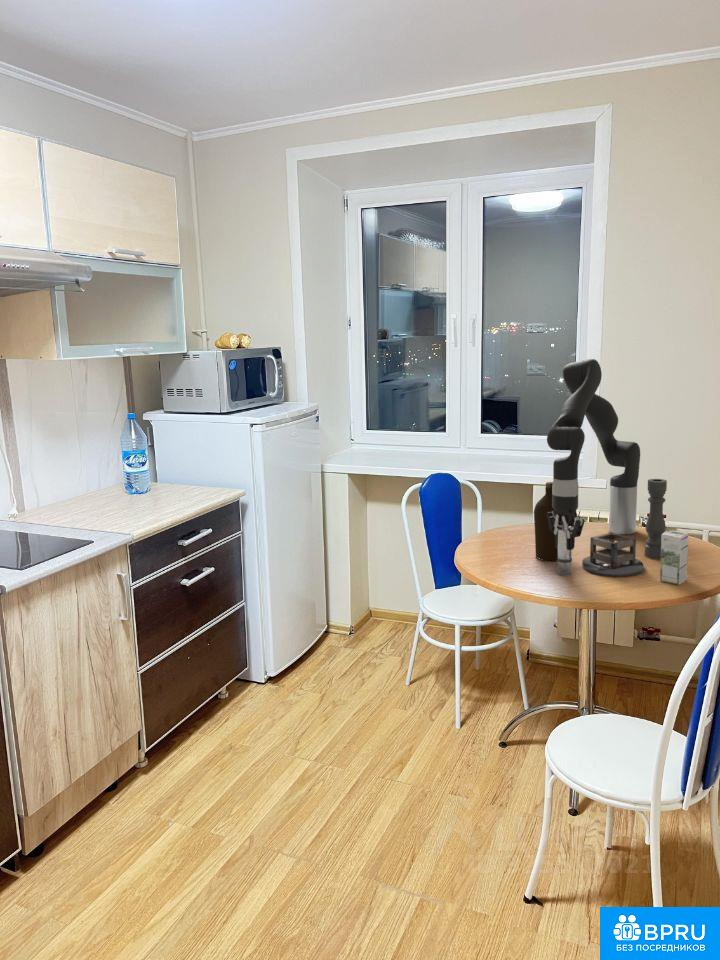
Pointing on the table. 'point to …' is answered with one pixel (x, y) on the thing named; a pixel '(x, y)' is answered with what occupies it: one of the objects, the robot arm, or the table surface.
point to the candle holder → (655, 518)
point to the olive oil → (544, 527)
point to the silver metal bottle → (563, 553)
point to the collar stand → (612, 556)
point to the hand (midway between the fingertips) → (564, 547)
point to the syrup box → (674, 557)
